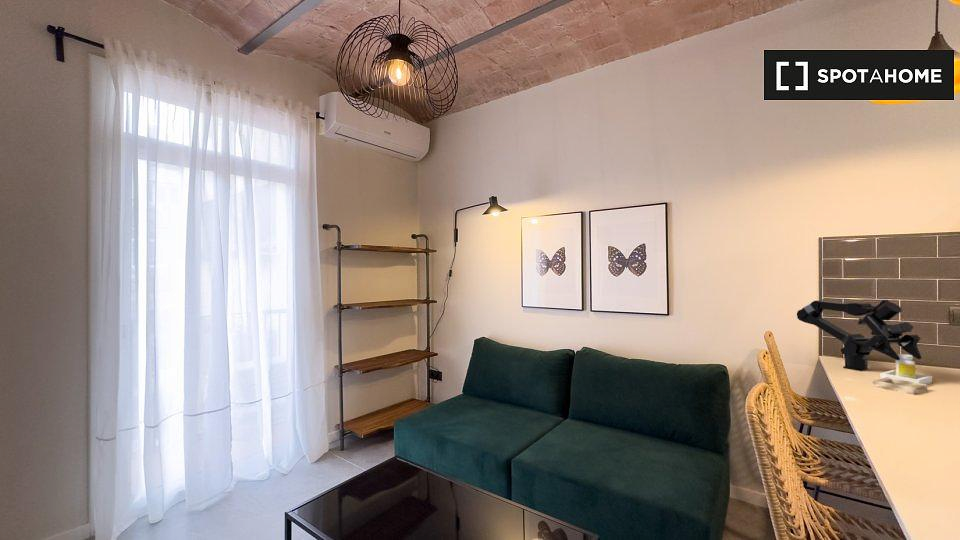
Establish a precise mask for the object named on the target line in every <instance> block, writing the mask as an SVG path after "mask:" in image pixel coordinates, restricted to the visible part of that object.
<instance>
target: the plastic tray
mask: <svg viewBox="0 0 960 540" xmlns="http://www.w3.org/2000/svg"><path fill="white" fill-rule="evenodd" d="M879 377H880V378H879V379H882V378H886V377H888V378H893V379H899V380H904V381H910V382H915V383H920V384H926V385H927V386H928V385H929V384H932V383H933V376H932V375H925V374H921V373H915V379H913V378H907V377H902V376H896V375H895V369H892V370H887V371H884V372H880V375H879Z"/></svg>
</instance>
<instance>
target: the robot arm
mask: <svg viewBox="0 0 960 540" xmlns="http://www.w3.org/2000/svg"><path fill="white" fill-rule="evenodd" d="M824 310H829V311H837V312H844V313H845V314H847V315H851V316H854V317H862V318H858V322H857V324H858V325H859V326H860V325H862V326H863V325H865V326H867V328H869V330H870V331H871V332H870V334H871V337H870V338H867V337H865V336H864V335H862V333H849V332H848V331H845V330H844V329H842V328H840V327H839V326H837V325H836V324H834V323H831V322H830V321H828V320H826V319H825V318H823V316H822V314H823V312H824ZM902 311H903V309H902V307H901V306H899V304H898V305H897V304H896V303H894V302H893V301H892V302H891V301H889V300H888V299H882V300H881V301H880V302H879V304H877V305H876V306H875V305H872V304H871V303H870V302H852V303H851V302H850V303H849V302H848V303H847V302H838V301H837V302H835V301H830V300H829V301H826V300H823V299H822V300H821V299H820V300H818V299H817V300H813V301H811V303H809V304H807V305H805V306H804V307H802V308H801V309H799V310H798V311H797V312H796V319H798V320H799V321H801V322H803V323H805V324H809V325H813V326H815V327H817V328H818V329H820V330H822V331H823V332H825V333H827V334H828V335H830V336H832V337H833V338H836V339H837V340H839V341H840V342H841V343H842V344H843V347H841V349H840V352H841V355H844V365H843V366H842V368H844V369H850V370H853V371H854V370H855V371H859V372H860V371H866V370H869V361H868V358H867V356H870V355H871V352H872V351H873V350H874V351H877V352H879V353H881V354H884V355H885V356H888V357H890V358H891V359H894V360H895V361H896V360H900V358H899V356H898V354H897V352H896V351H895V350H894V348H893V347H892V346H891V344H897V345H898V346H899V347H901V349H902V350H903V351H905V352H906V353H908V355H912V356H913V358H915V359H917V360H921V359H922V355H921V353H920V351H919V348H918V343H919V342H920V340H921V339H922V338H921V337H920V336H919V335H917V334H911V332H913V329H914V325H912V324H911V323H910V322H906V321H905V322H900V323H896V324H888V323H887V322H886V321H890V320H892V319H893V318H894V317H896V316H898V315H899V314H901V312H902ZM863 316H864V317H863ZM908 332H909V333H910V334H905V333H908ZM903 334H905V335H903Z"/></svg>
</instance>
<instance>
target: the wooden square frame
mask: <svg viewBox="0 0 960 540" xmlns="http://www.w3.org/2000/svg"><path fill="white" fill-rule="evenodd" d="M872 387H874V388H881V389H885V390H889V391H895V392H899V393H904V394H909V395H916V394H920V393H923V392H926V391H928V384H927V385H926V384H920V383H915V382H910V381H904V380H899V379H893V378H888V377H886V378H882V379H880V378H879V379H876V380H875V379H874V380H873V381H872Z"/></svg>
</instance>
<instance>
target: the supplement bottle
mask: <svg viewBox="0 0 960 540" xmlns="http://www.w3.org/2000/svg"><path fill="white" fill-rule="evenodd" d="M897 355H898V356H899V358H900V360H896V359H895V362H894V363H895V364H894V365H895V369H894V370H895V375H896V376H902V377H907V378H913V379H915V374H916V362H915V361H913V358H914V356H912V355H911V354H906V353H898V354H897Z"/></svg>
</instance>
